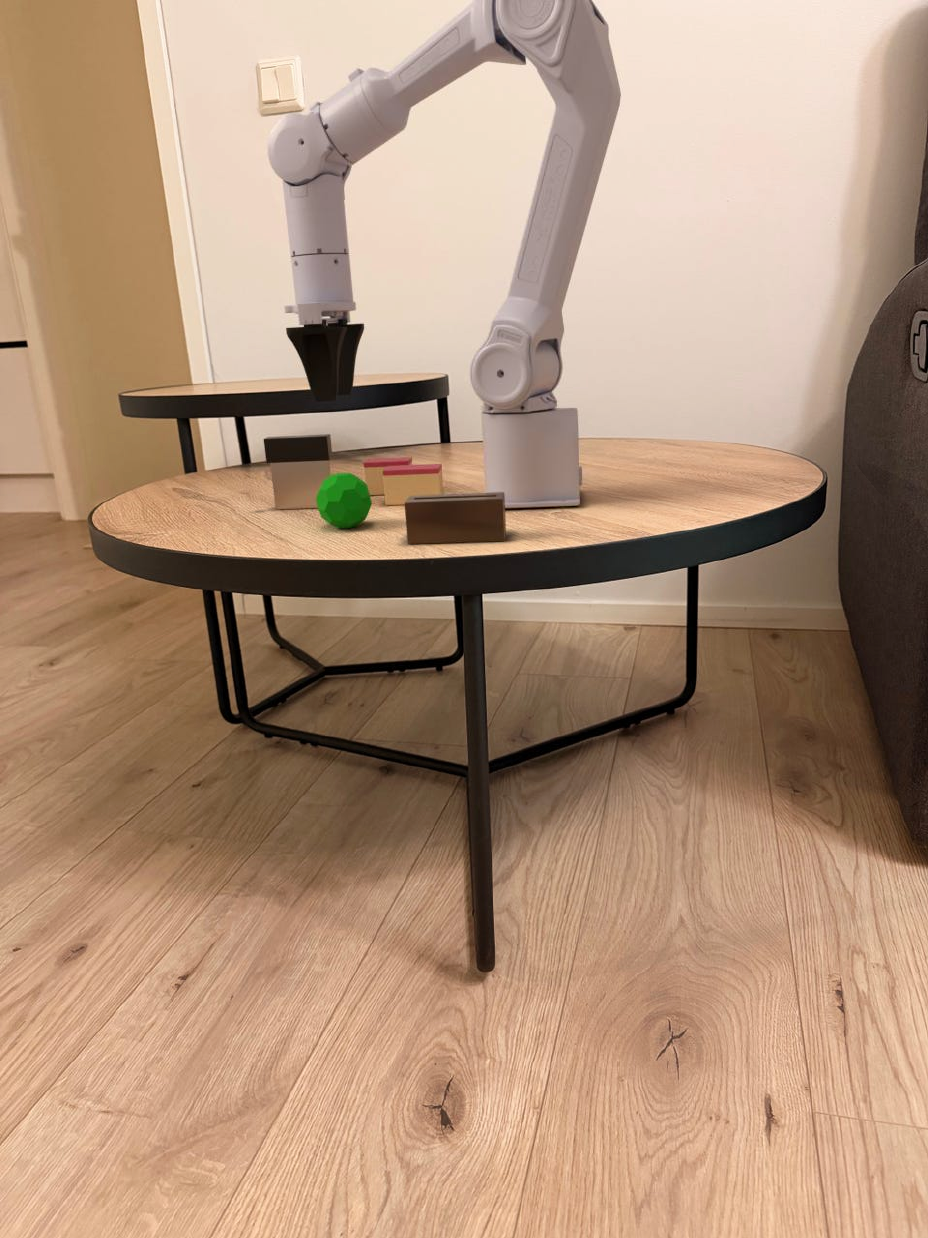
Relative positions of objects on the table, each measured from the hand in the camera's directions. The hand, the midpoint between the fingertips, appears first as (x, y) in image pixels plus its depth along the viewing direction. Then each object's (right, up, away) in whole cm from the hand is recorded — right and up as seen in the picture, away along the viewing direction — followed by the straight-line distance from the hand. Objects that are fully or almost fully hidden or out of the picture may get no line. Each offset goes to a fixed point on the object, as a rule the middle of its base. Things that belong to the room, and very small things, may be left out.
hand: (334, 397), depth 95 cm
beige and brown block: (-3, -11, -1) cm, 12 cm away
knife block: (+13, -16, -18) cm, 27 cm away
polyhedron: (+3, -15, -11) cm, 18 cm away
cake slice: (+5, -9, +5) cm, 12 cm away
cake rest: (+8, -11, -1) cm, 14 cm away
